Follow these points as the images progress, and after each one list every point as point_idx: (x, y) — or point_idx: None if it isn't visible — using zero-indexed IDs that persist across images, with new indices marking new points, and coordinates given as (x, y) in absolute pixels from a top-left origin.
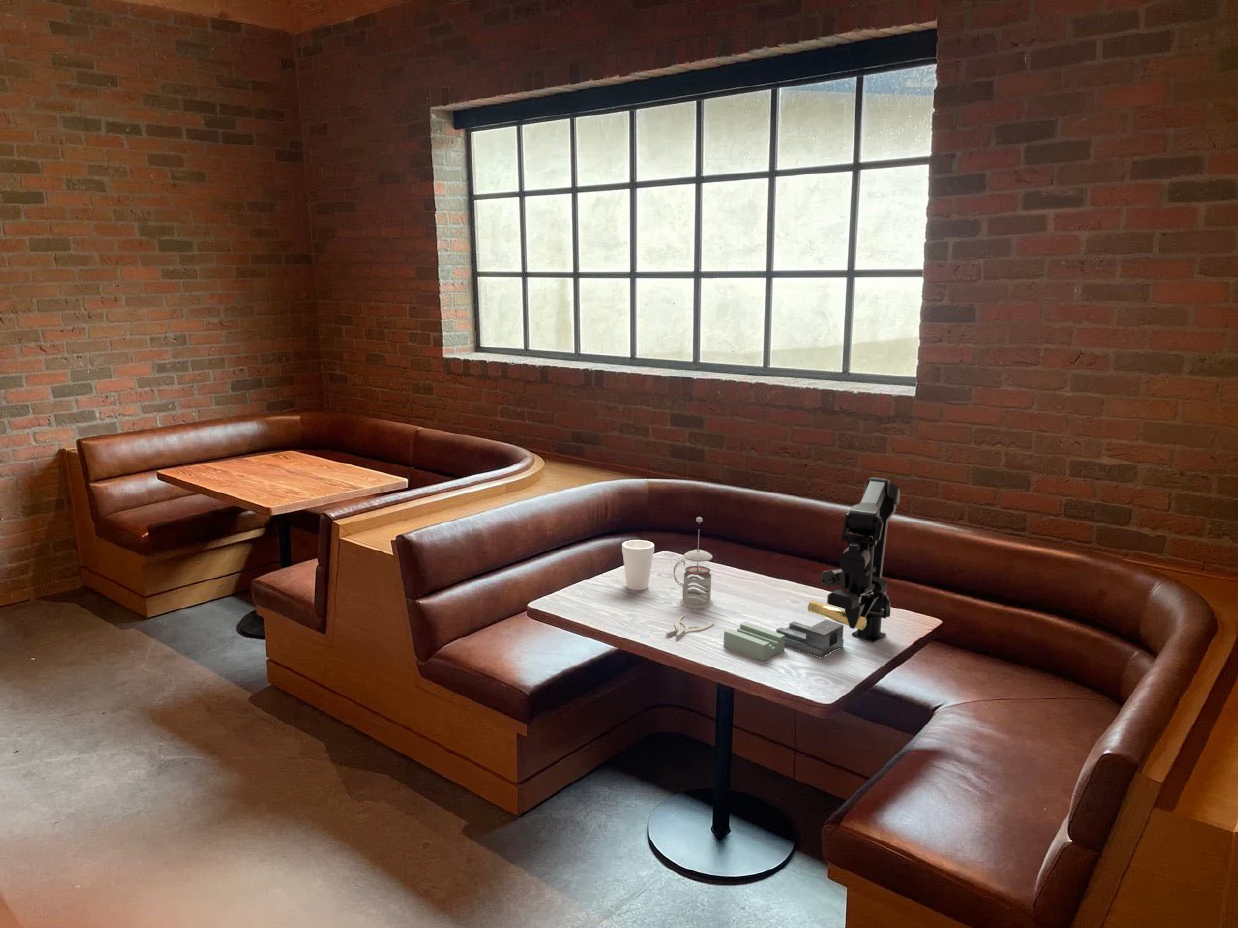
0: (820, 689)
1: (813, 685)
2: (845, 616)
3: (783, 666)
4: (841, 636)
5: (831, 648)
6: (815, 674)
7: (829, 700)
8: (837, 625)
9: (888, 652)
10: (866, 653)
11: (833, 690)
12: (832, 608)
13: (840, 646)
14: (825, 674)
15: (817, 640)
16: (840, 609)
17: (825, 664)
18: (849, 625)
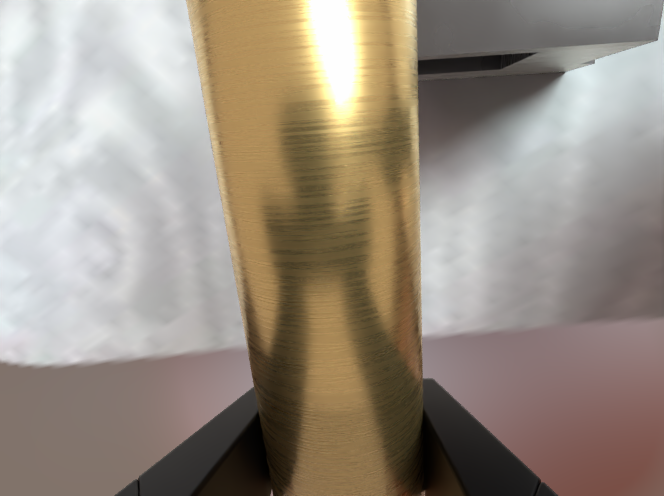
0: (39, 288)
1: (39, 247)
2: (256, 370)
3: (55, 2)
4: (574, 60)
5: (424, 76)
6: (129, 186)
7: (5, 360)
8: (604, 4)
9: (661, 297)
10: (564, 223)
11: (80, 328)
12: (260, 105)
13: (536, 71)
14: (170, 220)
15: None
16: (357, 232)
17: None
18: (244, 396)
